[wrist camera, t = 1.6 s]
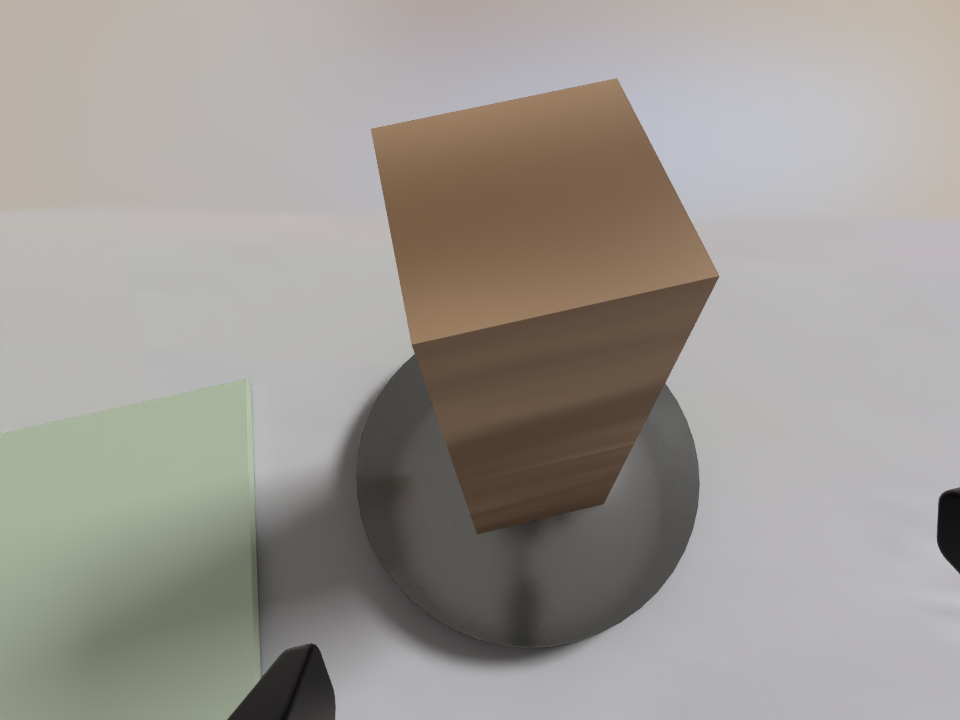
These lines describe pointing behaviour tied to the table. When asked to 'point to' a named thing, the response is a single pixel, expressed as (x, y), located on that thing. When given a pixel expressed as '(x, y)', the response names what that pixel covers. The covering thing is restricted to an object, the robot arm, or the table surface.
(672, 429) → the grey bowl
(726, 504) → the table surface
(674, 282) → the walnut block
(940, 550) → the robot arm
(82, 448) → the rubber mat
